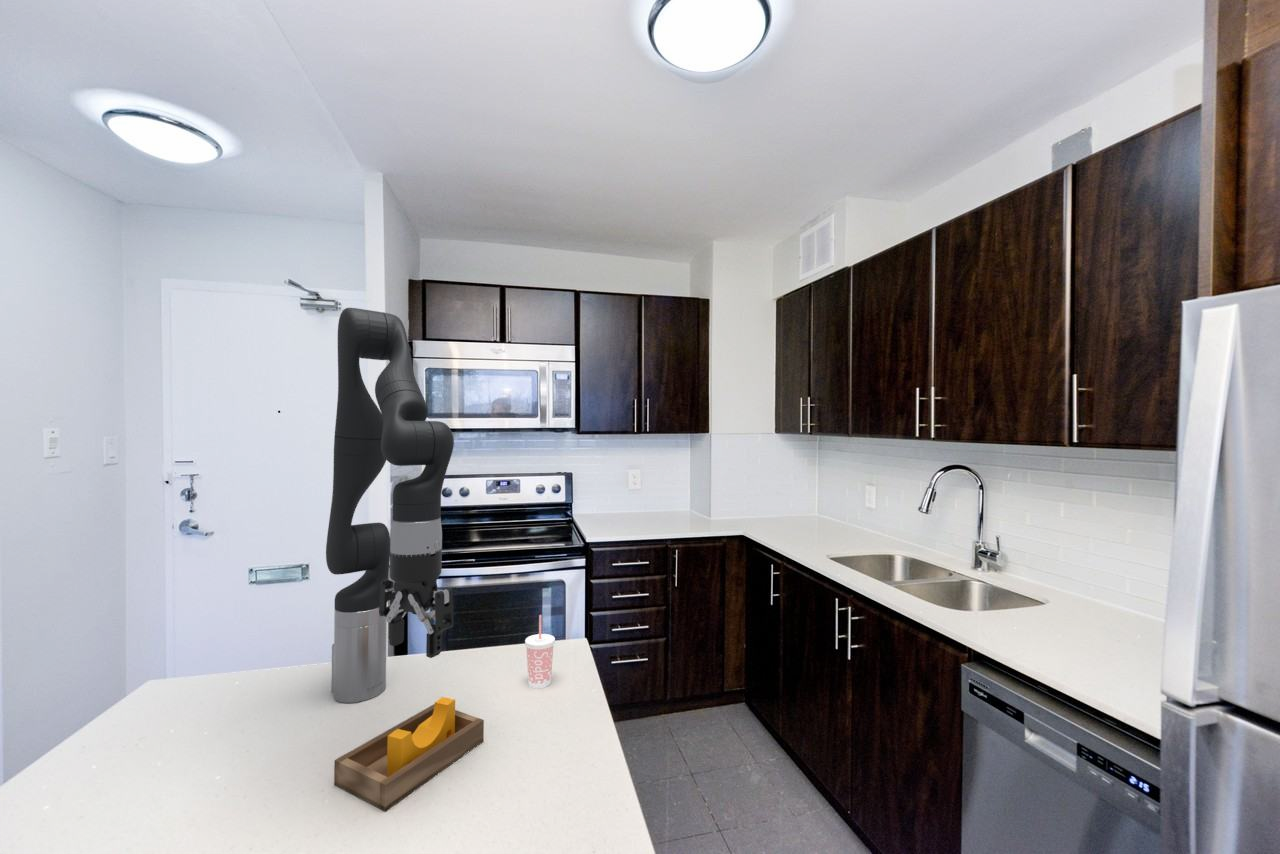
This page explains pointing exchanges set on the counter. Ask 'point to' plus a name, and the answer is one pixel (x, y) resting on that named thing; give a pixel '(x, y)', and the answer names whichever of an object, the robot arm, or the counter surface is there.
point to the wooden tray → (368, 766)
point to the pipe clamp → (421, 736)
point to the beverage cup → (539, 658)
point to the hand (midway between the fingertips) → (414, 649)
